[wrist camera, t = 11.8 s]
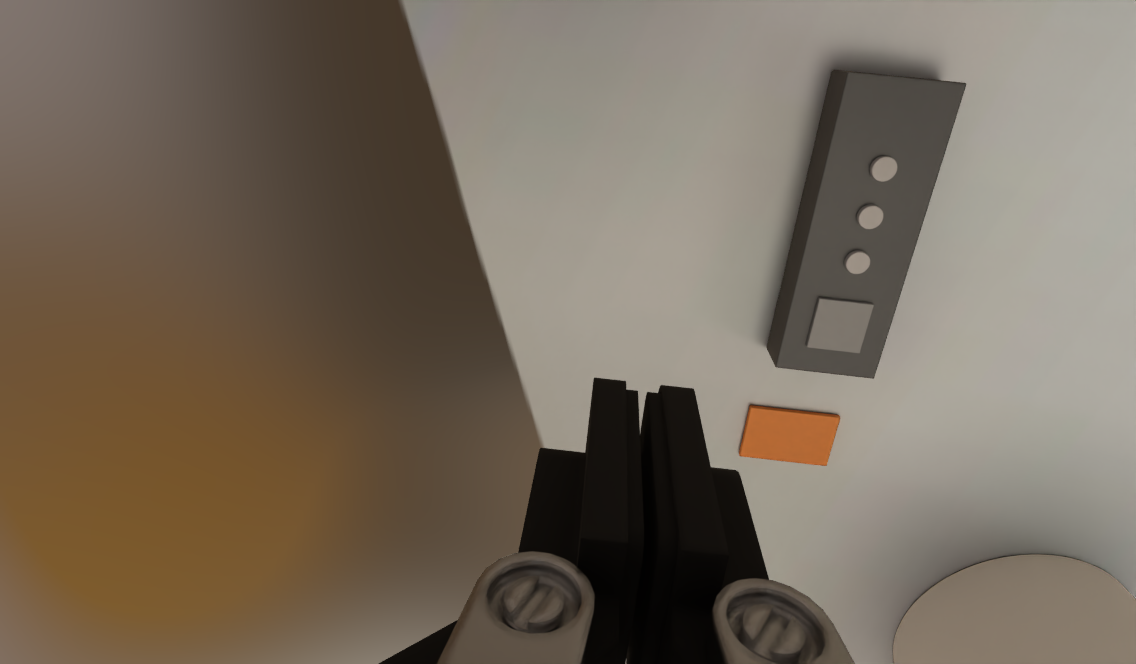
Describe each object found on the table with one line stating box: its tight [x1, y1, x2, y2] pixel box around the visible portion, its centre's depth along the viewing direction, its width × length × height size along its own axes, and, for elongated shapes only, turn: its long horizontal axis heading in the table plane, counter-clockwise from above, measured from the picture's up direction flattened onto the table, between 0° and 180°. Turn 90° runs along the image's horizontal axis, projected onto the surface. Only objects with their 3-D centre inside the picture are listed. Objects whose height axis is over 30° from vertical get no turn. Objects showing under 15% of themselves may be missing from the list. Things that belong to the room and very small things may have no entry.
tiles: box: [739, 405, 840, 466], centre depth 30 cm, size 26×5×1 cm, turn 175°
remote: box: [767, 70, 966, 378], centre depth 29 cm, size 13×5×2 cm, turn 175°
